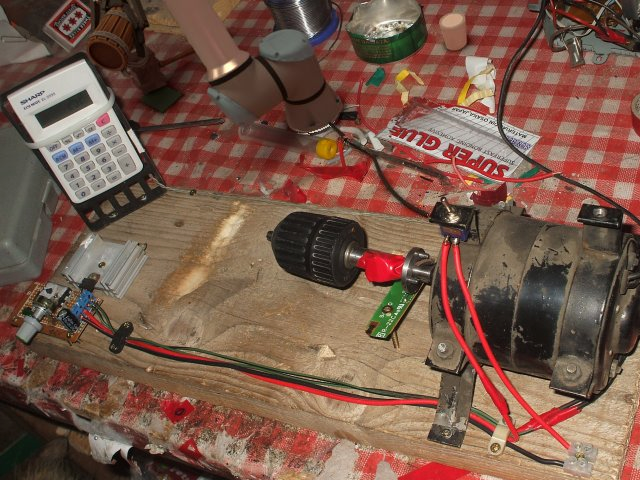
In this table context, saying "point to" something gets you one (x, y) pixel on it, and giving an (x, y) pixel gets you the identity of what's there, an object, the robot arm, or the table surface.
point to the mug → (114, 43)
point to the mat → (161, 98)
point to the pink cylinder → (454, 30)
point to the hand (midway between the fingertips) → (126, 59)
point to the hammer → (152, 70)
